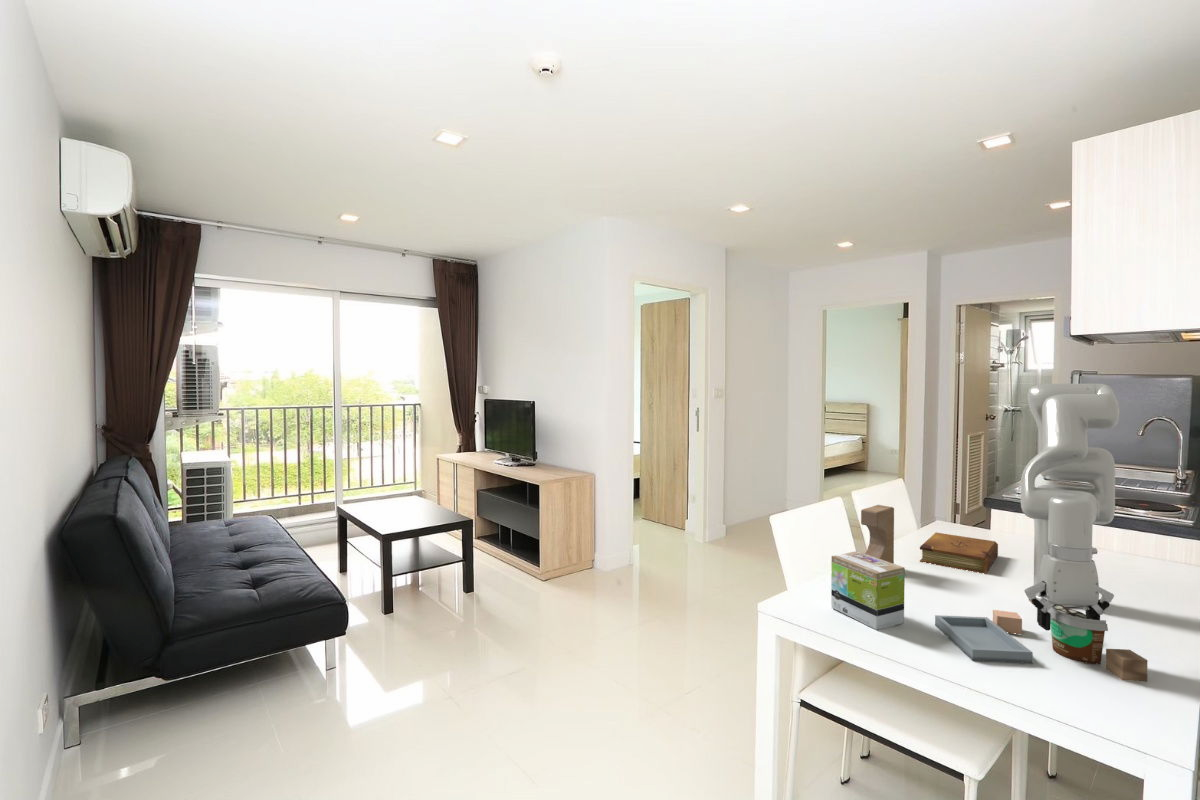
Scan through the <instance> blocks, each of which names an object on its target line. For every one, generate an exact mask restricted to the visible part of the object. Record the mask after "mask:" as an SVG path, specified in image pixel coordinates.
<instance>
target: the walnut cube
mask: <svg viewBox="0 0 1200 800" xmlns="http://www.w3.org/2000/svg"><path fill="white" fill-rule="evenodd" d="M1105 670H1106V671H1107V672H1109V673H1110V674H1112V675H1113V676H1115V677H1117V678H1118V679H1120V680H1121V681H1126V682H1127V681H1129V682H1148V659H1146V658H1145V657H1143V656H1141V655H1140V654H1139V653H1136V652H1135V651H1133V650H1131V649H1125V648H1123V649H1120V648H1105Z"/></svg>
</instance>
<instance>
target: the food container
mask: <svg viewBox="0 0 1200 800" xmlns="http://www.w3.org/2000/svg"><path fill="white" fill-rule="evenodd" d="M1048 612H1049V613H1050V614H1051V624H1050V632H1051V633H1050V634H1051V644H1052V645H1051V646H1052V649H1053V652H1055V653H1056V654H1057V655H1058V656H1061V657H1063V658H1065V659H1067V660H1068V659H1069V660H1072V661H1074V662H1076V663H1077V662H1078V663H1083V664H1087V665H1089V664H1090V665H1101V663H1102V657H1103V648H1104V643H1105V634H1106V632H1109V628H1108V624H1107V620H1105V619H1100V620H1094V619H1092V618H1090V617H1088V616H1087V615H1086V613H1083V612H1081V611H1080V610H1076V609H1071V608H1070V607H1065V606H1062V605H1056V604H1054V605H1053V606H1052V607H1051V608H1050V609H1049V610H1048Z"/></svg>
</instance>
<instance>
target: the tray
mask: <svg viewBox="0 0 1200 800" xmlns="http://www.w3.org/2000/svg"><path fill="white" fill-rule="evenodd" d="M934 617H935V618H934V623H935V624H934V626H935V627H936V628H937V629H939V630H940V631H941V633H942V634H944V635H945V636H946V637H947V639H948V640H949V641H951V642H952V643H953V644H954V645H955V646H956V647H957V648H958V649H959V650H960V651H962V652H963V653H964V654H965V655H966V656H967V657H968V658H969V659H970V660H971V661H972V662H987V663H988V662H991V663H992V662H993V663H1011V664H1033V654H1034V653H1033V651H1031V650H1030V649H1029V648H1028V647H1027V646H1025V645H1023V644H1022V643H1021V642H1020V641H1019V640H1017V639H1016V638H1015V637H1014V636H1012V635H1011V634H1009V633H1007V632H1006V631H1004V630H1003V629H1002V628H1000V627H999V626H998V625H996V624H995V623H994V622H993V620H992V619H990V618H989V617H987V616H983V617H982V616H960V615H934Z"/></svg>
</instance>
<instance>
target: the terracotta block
mask: <svg viewBox="0 0 1200 800" xmlns="http://www.w3.org/2000/svg"><path fill="white" fill-rule="evenodd" d="M992 621H993V622H994V623H995V624H996V625H998V626H999V627H1000V628H1002V629H1003V630H1004V631H1006V632H1008V634H1009V633H1016V634H1015V635H1017V634H1023V618H1022V617H1021V616H1020V614H1019V613H1018V612H1016V611H1015V612H1014V611H1005V610H999V609H992Z"/></svg>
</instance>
